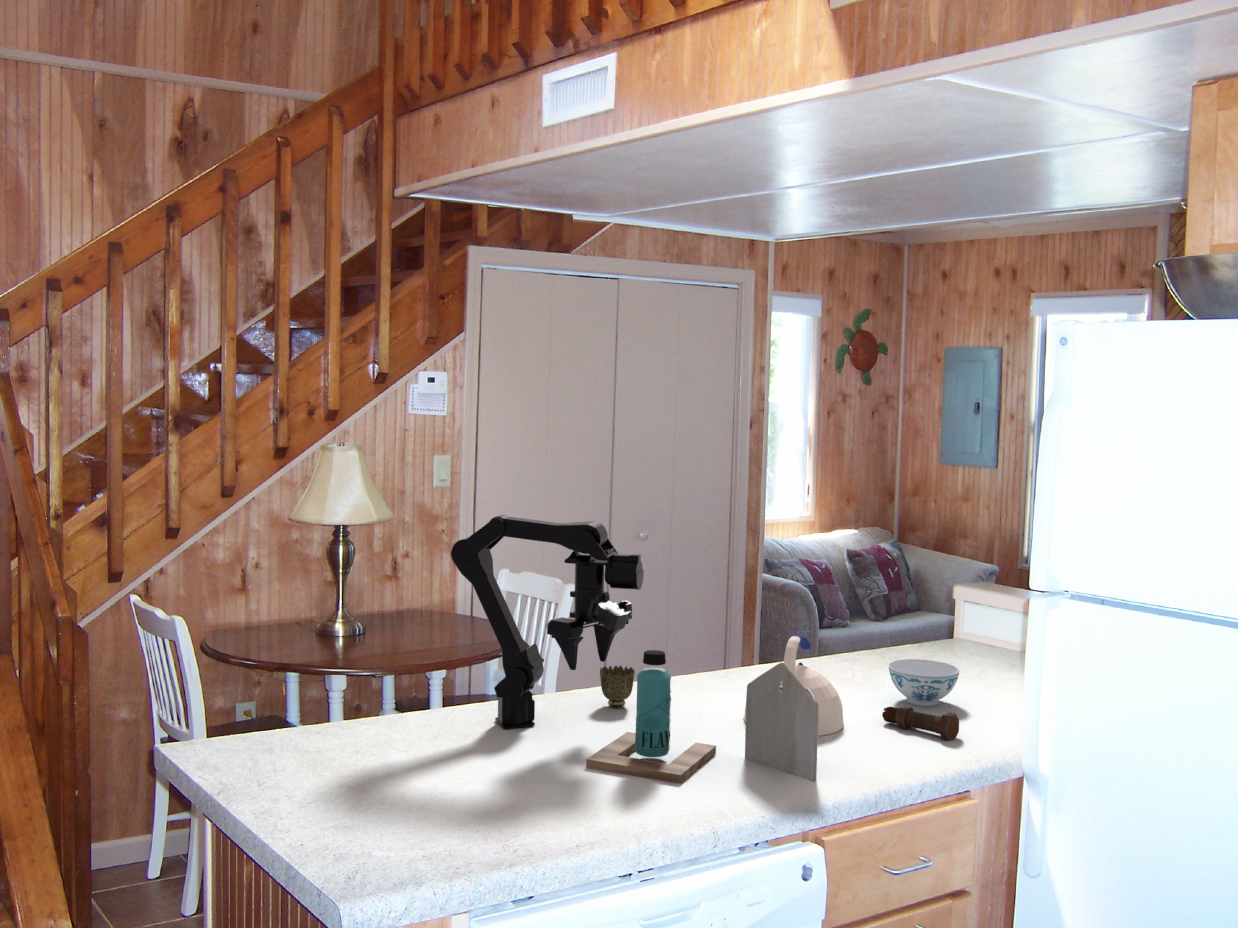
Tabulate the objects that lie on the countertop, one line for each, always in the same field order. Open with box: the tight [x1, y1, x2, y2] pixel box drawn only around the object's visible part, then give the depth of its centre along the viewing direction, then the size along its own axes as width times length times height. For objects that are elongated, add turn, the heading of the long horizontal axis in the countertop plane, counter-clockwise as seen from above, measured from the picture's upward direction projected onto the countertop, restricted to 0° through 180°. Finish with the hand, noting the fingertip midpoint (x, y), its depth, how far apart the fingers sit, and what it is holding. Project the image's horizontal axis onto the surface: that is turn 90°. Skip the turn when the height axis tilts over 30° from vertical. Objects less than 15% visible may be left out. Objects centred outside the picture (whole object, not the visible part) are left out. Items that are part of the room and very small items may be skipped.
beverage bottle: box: [634, 649, 672, 758], centre depth 206 cm, size 6×7×20 cm
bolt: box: [881, 705, 960, 742], centre depth 227 cm, size 6×5×15 cm
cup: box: [599, 665, 636, 709], centre depth 240 cm, size 8×7×8 cm
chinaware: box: [888, 658, 960, 707], centre depth 248 cm, size 15×15×8 cm
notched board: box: [585, 731, 717, 785], centre depth 206 cm, size 18×18×2 cm
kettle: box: [743, 634, 845, 737], centre depth 231 cm, size 20×21×18 cm
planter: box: [744, 662, 819, 782], centre depth 204 cm, size 16×8×19 cm, turn 42°
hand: (588, 665), depth 222 cm, fingers open, 9 cm apart
